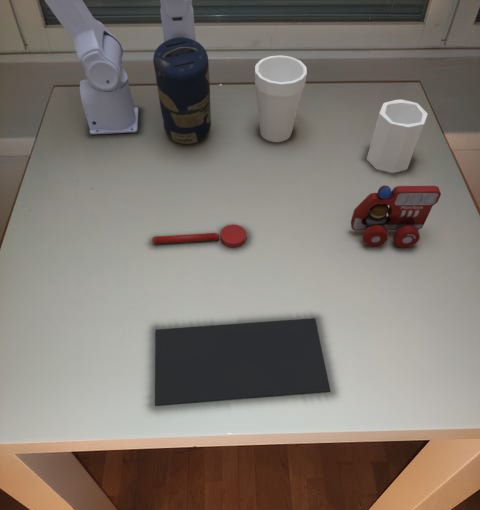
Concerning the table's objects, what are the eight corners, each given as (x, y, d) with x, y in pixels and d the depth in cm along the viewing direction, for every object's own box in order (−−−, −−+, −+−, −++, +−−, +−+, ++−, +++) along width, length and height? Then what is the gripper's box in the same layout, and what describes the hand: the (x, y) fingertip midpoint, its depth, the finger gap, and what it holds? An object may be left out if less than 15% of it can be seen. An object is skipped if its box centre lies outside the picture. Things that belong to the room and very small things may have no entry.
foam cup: (247, 142, 95) (249, 79, 84) (258, 115, 100) (261, 52, 89) (294, 150, 93) (301, 87, 83) (302, 122, 98) (311, 59, 87)
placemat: (155, 405, 64) (154, 404, 64) (155, 330, 70) (155, 329, 70) (330, 391, 65) (330, 390, 65) (314, 319, 72) (315, 318, 72)
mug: (414, 173, 90) (432, 127, 82) (369, 172, 90) (382, 126, 82) (403, 133, 97) (418, 87, 88) (361, 133, 97) (372, 87, 88)
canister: (212, 147, 94) (210, 68, 77) (164, 149, 93) (151, 69, 77) (209, 110, 98) (207, 27, 81) (163, 112, 97) (151, 28, 80)
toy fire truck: (346, 217, 84) (359, 169, 75) (416, 219, 83) (437, 171, 75) (350, 247, 80) (364, 200, 71) (423, 249, 80) (447, 202, 71)
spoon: (152, 252, 79) (151, 247, 78) (153, 233, 81) (152, 228, 80) (247, 246, 80) (247, 241, 79) (244, 227, 82) (244, 222, 81)
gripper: (203, 57, 82) (208, 127, 93) (199, 15, 89) (204, 84, 101) (162, 59, 81) (172, 129, 93) (162, 17, 89) (171, 86, 100)
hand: (186, 106), depth 97 cm, fingers closed, pressing on canister
